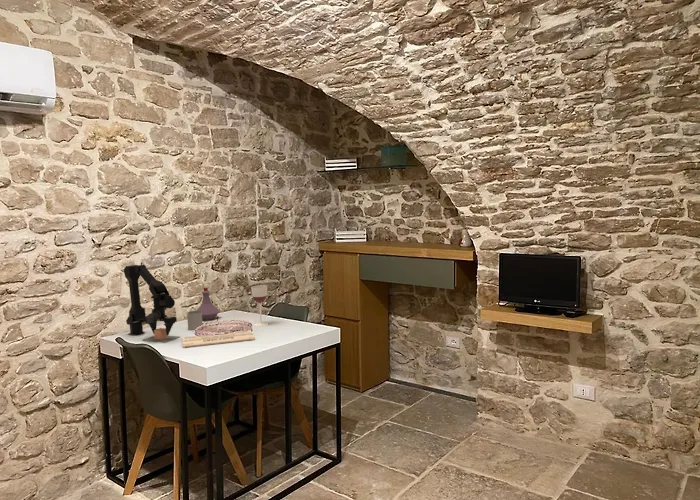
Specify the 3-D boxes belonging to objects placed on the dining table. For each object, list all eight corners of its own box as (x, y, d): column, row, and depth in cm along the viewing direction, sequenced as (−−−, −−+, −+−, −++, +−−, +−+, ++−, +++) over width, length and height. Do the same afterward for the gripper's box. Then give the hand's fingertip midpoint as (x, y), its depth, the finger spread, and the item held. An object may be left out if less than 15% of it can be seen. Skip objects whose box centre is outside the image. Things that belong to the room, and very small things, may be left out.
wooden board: (250, 333, 311) (249, 329, 311) (255, 341, 293) (255, 336, 293) (182, 341, 300) (181, 336, 300) (183, 350, 282) (182, 344, 281)
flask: (225, 316, 358) (224, 286, 356) (210, 322, 343) (208, 290, 341) (204, 315, 364) (202, 285, 362) (188, 321, 349) (186, 289, 347)
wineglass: (272, 323, 334) (270, 285, 332) (261, 326, 326) (259, 288, 324) (260, 321, 339) (259, 284, 337) (249, 325, 331) (247, 287, 329)
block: (154, 338, 303) (153, 330, 303) (161, 336, 308) (160, 327, 307) (161, 339, 301) (160, 330, 301) (168, 337, 306) (167, 328, 305)
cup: (198, 330, 321) (197, 313, 320) (185, 330, 323) (184, 313, 322) (205, 327, 329) (204, 310, 329) (192, 327, 331) (191, 310, 330)
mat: (142, 340, 302) (142, 339, 302) (157, 335, 313) (157, 334, 313) (164, 342, 296) (164, 341, 296) (180, 337, 307) (180, 336, 307)
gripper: (135, 308, 299) (137, 336, 301) (162, 310, 292) (163, 339, 293) (150, 304, 310) (152, 332, 311) (176, 306, 302) (178, 334, 303)
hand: (161, 334), depth 304 cm, fingers open, 9 cm apart
